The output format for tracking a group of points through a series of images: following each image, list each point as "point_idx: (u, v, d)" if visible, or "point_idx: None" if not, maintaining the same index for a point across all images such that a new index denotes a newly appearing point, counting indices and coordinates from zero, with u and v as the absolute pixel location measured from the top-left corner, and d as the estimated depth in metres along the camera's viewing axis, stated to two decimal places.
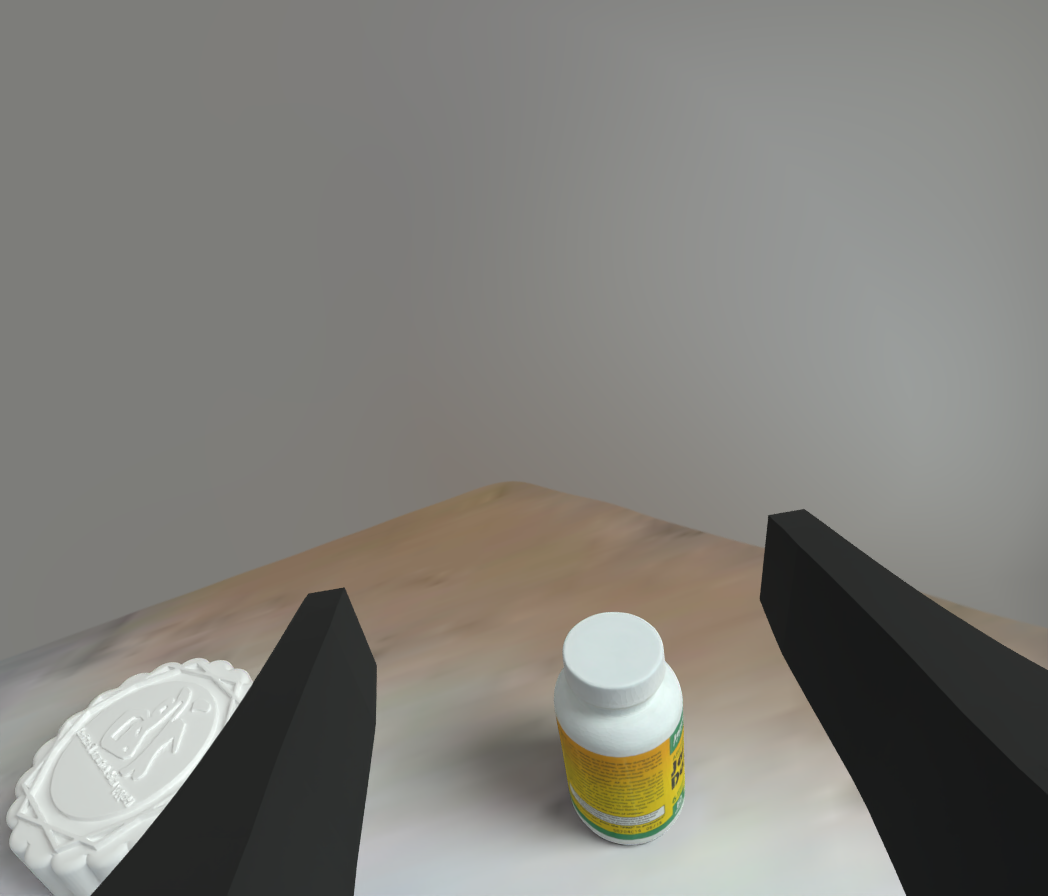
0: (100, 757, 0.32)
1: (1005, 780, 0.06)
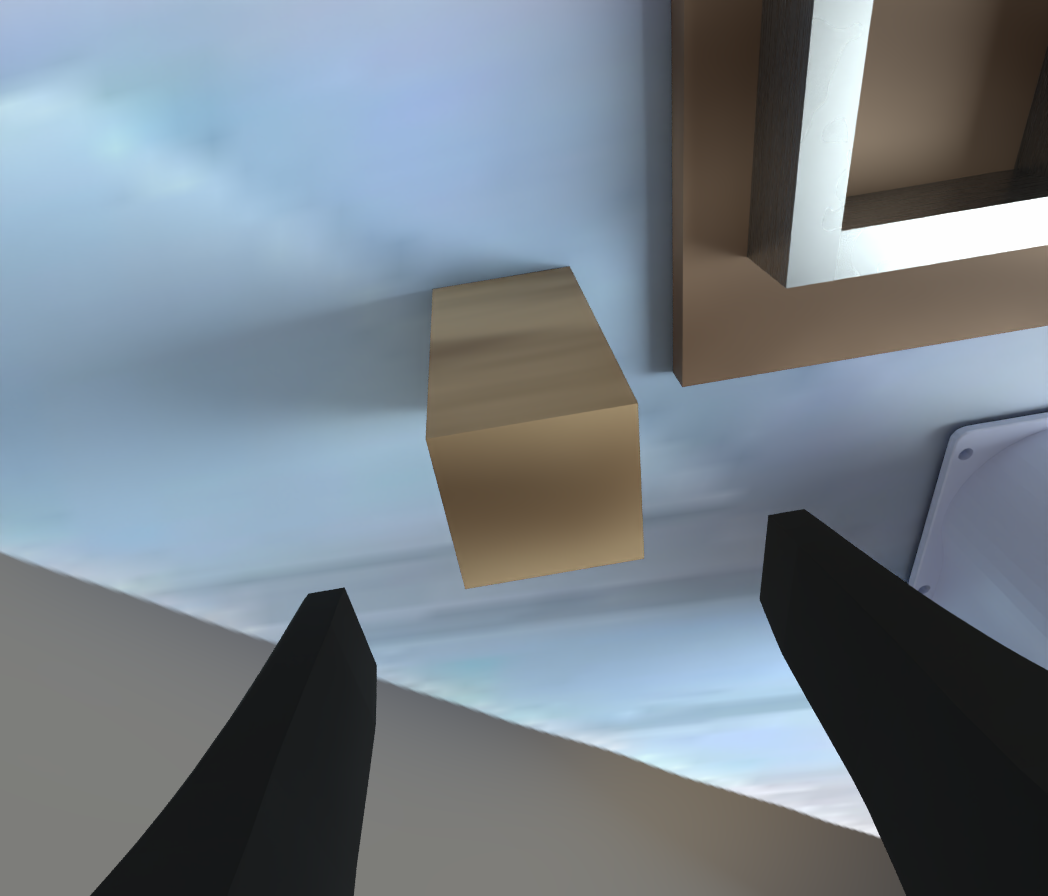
0: None
1: (1005, 780, 0.06)
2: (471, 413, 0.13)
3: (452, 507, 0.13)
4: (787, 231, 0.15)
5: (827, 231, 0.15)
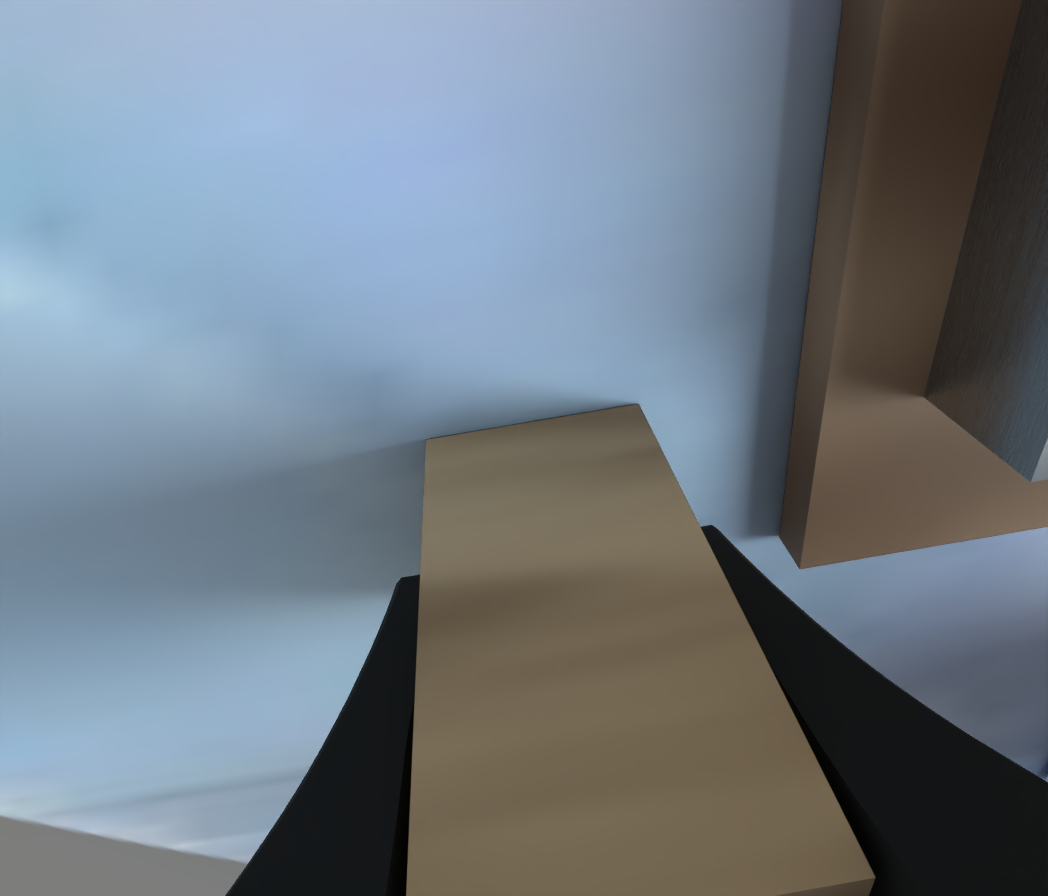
0: None
1: (847, 808, 0.06)
2: (502, 858, 0.06)
3: None
4: None
5: None
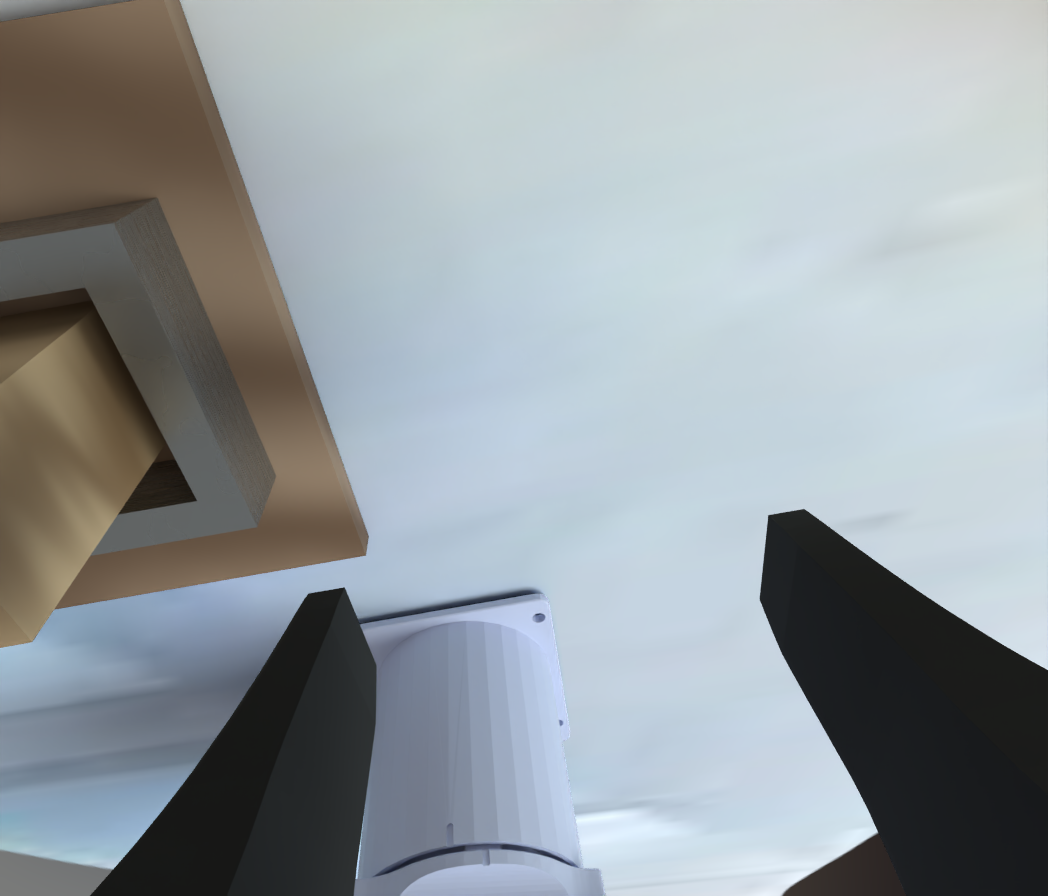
0: None
1: (1005, 780, 0.06)
2: None
3: None
4: None
5: None
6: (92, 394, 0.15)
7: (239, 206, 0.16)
